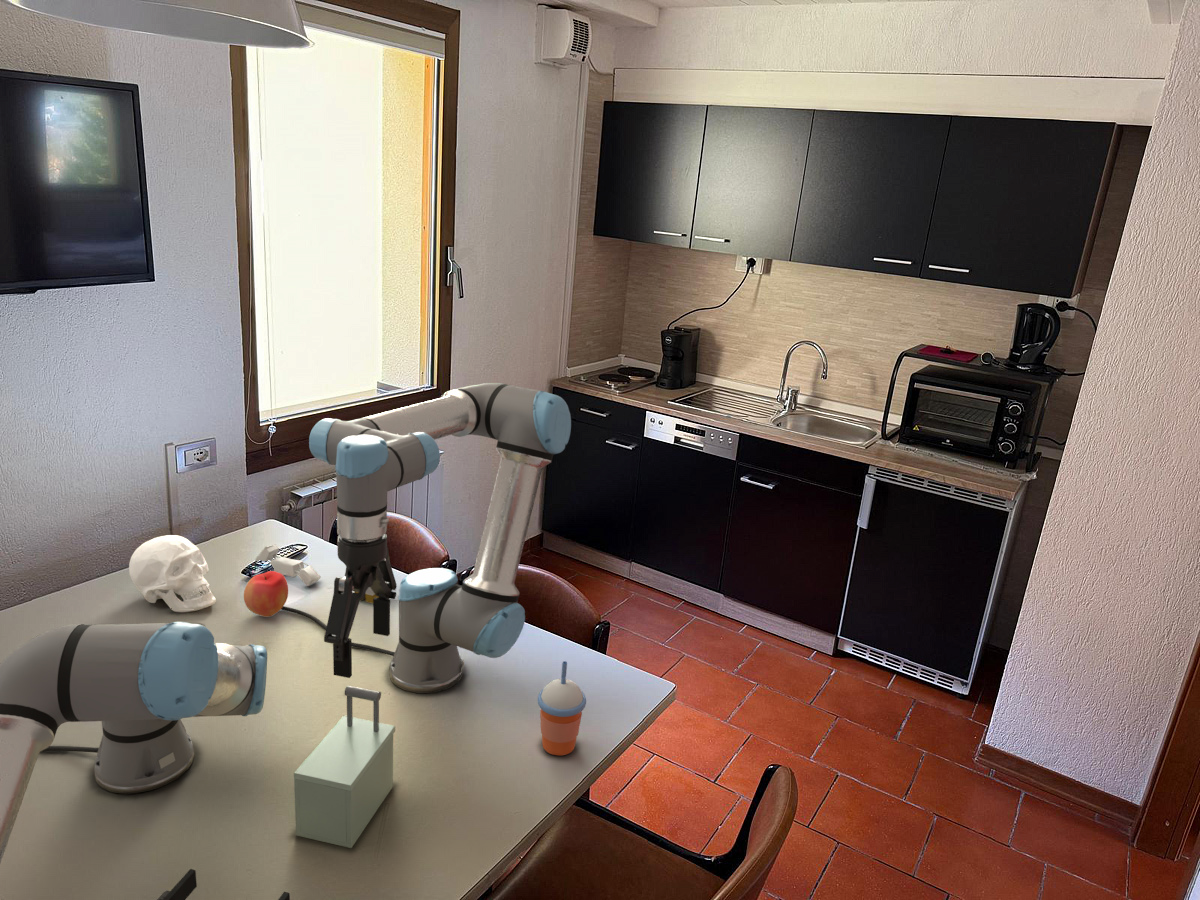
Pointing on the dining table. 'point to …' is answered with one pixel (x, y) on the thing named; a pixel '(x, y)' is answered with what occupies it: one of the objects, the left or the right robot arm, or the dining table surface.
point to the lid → (347, 746)
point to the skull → (171, 573)
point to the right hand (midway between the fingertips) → (363, 653)
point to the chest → (343, 803)
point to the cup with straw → (560, 714)
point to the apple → (266, 593)
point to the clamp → (288, 565)
